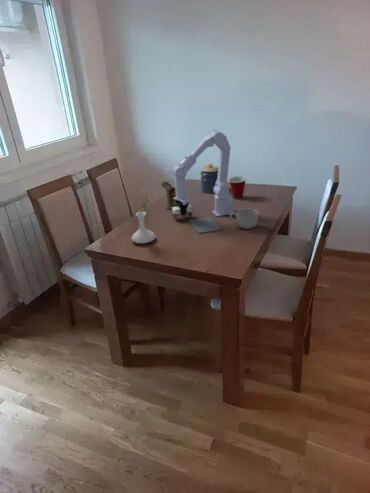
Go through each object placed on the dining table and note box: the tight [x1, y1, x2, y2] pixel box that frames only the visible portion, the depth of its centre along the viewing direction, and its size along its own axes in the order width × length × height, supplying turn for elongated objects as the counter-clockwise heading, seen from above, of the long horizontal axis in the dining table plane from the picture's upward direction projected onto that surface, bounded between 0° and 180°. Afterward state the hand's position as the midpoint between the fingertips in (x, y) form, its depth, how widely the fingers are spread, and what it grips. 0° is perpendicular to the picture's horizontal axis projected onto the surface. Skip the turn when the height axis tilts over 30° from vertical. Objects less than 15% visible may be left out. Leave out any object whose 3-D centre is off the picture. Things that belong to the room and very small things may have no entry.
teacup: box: [229, 207, 259, 230], centre depth 182 cm, size 14×11×8 cm
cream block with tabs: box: [171, 204, 193, 222], centre depth 197 cm, size 10×5×6 cm, turn 105°
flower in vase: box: [131, 187, 156, 244], centre depth 171 cm, size 13×11×25 cm
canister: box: [200, 163, 219, 194], centre depth 237 cm, size 13×13×18 cm
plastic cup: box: [227, 175, 247, 200], centre depth 222 cm, size 11×11×12 cm
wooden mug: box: [160, 181, 178, 211], centre depth 210 cm, size 9×14×18 cm, turn 157°
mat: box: [188, 216, 222, 235], centre depth 188 cm, size 18×12×1 cm, turn 15°
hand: (182, 213), depth 197 cm, fingers closed on cream block with tabs, 5 cm apart
